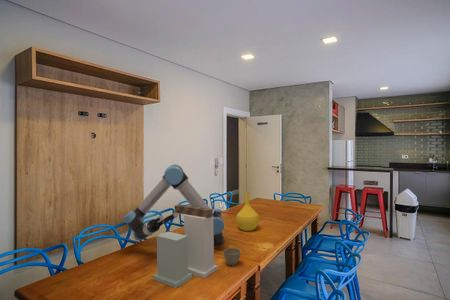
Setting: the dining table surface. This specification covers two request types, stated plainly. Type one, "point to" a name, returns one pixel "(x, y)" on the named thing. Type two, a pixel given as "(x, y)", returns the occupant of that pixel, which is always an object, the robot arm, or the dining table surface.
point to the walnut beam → (194, 211)
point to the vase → (247, 217)
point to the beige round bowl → (232, 255)
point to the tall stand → (200, 245)
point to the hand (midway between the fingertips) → (172, 213)
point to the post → (172, 259)
